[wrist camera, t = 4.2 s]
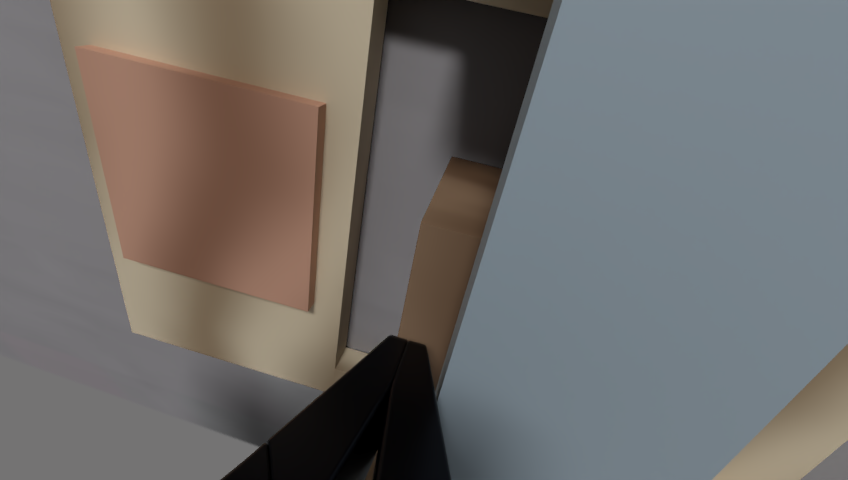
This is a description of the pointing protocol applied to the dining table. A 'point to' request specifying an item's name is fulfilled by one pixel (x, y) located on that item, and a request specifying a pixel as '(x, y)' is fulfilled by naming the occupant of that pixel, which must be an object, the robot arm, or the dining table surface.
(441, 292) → the walnut block
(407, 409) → the robot arm
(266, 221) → the puzzle board
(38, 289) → the dining table surface
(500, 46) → the dining table surface
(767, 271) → the sliding slat
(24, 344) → the dining table surface
